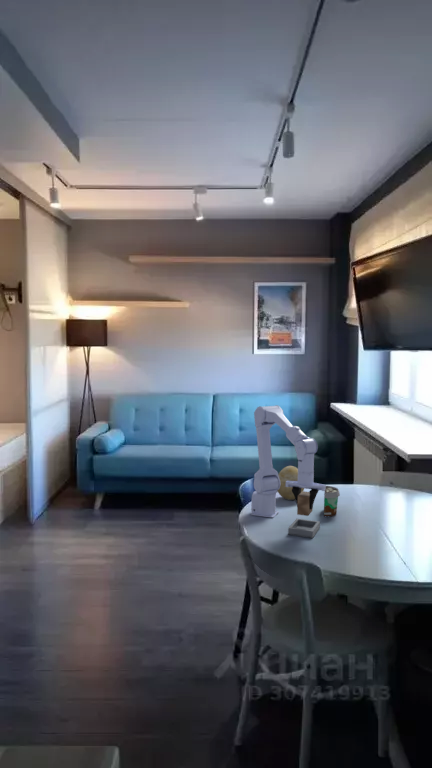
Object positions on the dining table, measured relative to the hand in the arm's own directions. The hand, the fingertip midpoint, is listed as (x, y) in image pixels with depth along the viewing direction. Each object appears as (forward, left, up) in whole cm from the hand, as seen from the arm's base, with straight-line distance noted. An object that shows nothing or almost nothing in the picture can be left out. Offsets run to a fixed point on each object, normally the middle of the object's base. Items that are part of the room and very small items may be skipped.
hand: (304, 507), depth 211 cm
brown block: (0, 0, -2) cm, 2 cm away
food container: (+5, +26, -9) cm, 28 cm away
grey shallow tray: (0, 0, -9) cm, 9 cm away
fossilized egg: (-16, +39, -9) cm, 43 cm away
